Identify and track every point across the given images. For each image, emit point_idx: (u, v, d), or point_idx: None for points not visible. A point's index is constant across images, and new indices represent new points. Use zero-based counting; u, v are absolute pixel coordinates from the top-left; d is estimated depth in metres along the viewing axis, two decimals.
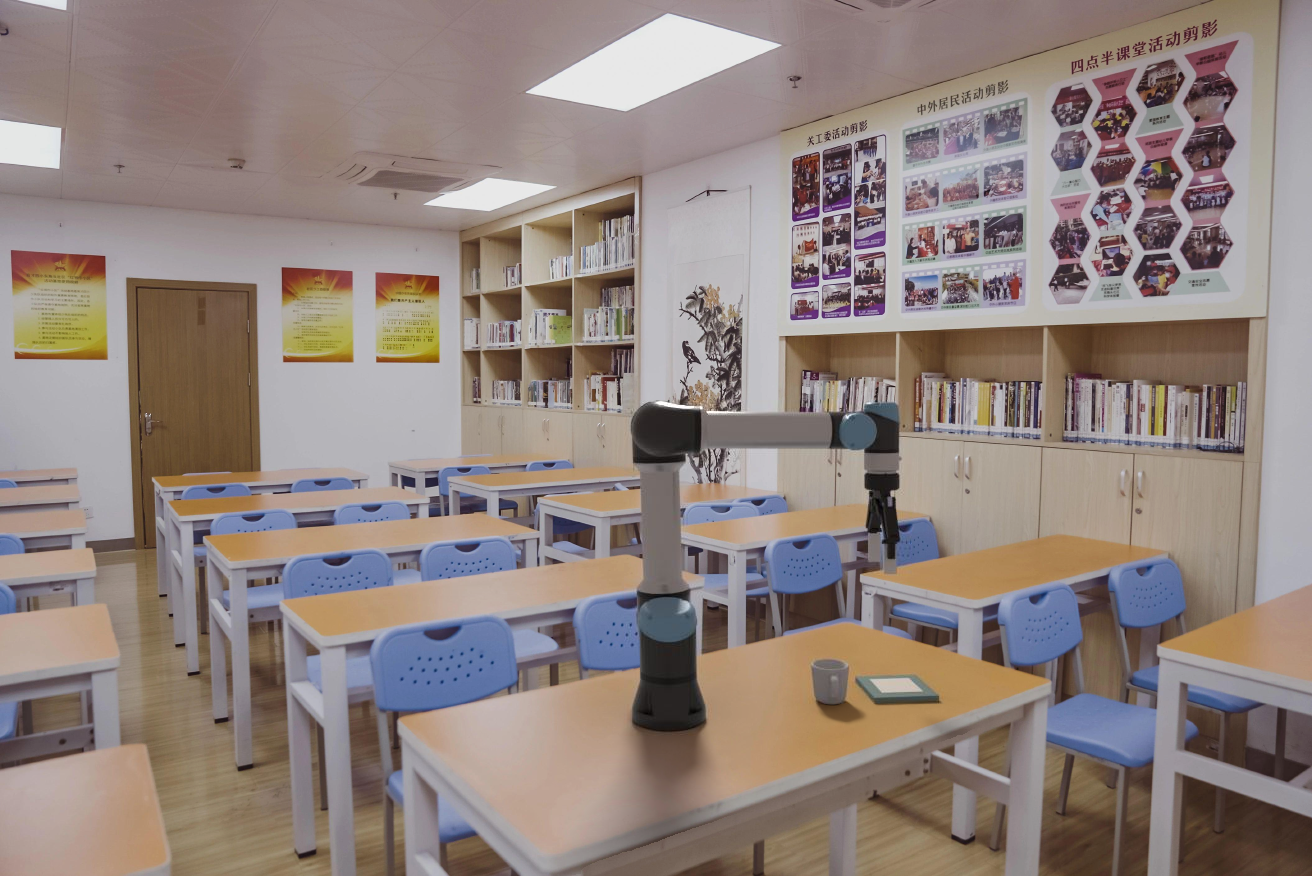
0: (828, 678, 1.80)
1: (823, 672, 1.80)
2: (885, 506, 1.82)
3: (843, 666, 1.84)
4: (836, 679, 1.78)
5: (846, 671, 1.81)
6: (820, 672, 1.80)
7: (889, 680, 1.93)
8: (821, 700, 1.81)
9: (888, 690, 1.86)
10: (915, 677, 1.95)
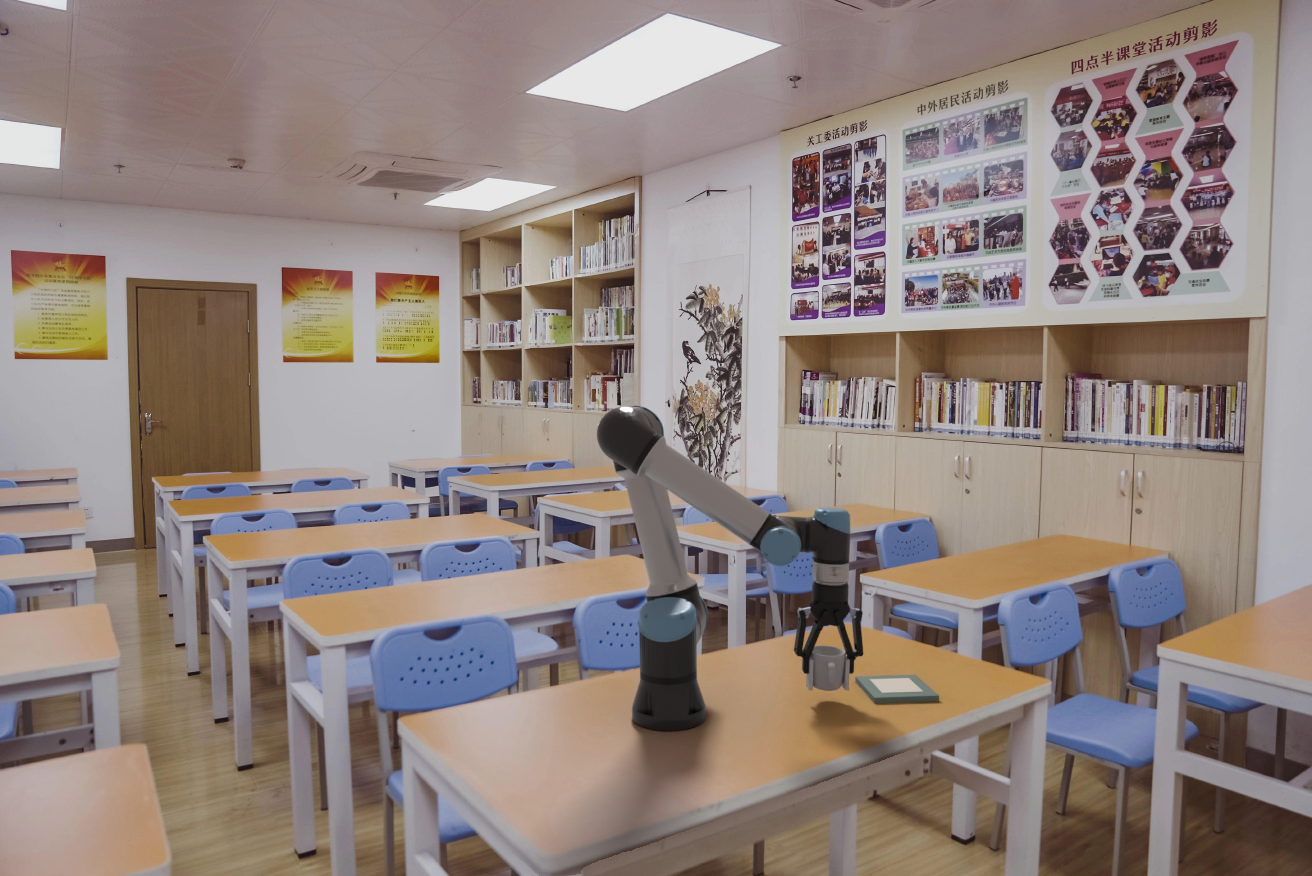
0: (825, 664, 1.80)
1: (820, 658, 1.80)
2: (798, 617, 1.82)
3: (840, 653, 1.84)
4: (833, 665, 1.78)
5: (843, 658, 1.81)
6: (817, 658, 1.80)
7: (889, 680, 1.93)
8: (817, 686, 1.81)
9: (888, 690, 1.86)
10: (915, 677, 1.95)
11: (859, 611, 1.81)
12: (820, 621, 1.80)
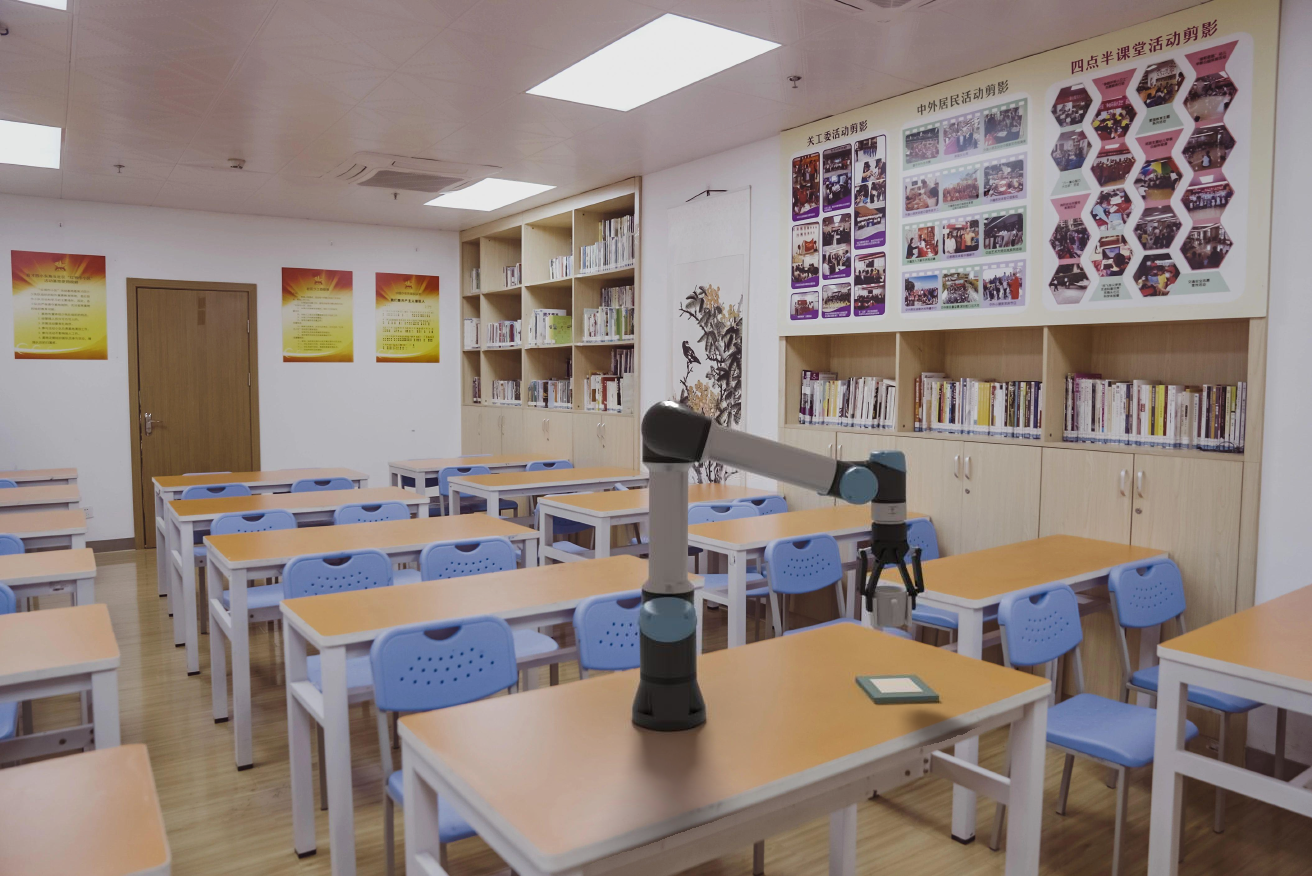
0: (888, 601, 1.85)
1: (883, 596, 1.85)
2: (859, 558, 1.88)
3: (901, 591, 1.89)
4: (896, 601, 1.83)
5: (905, 595, 1.86)
6: (880, 596, 1.86)
7: (889, 680, 1.93)
8: (881, 624, 1.87)
9: (888, 690, 1.86)
10: (915, 677, 1.95)
11: (918, 549, 1.86)
12: (881, 560, 1.85)
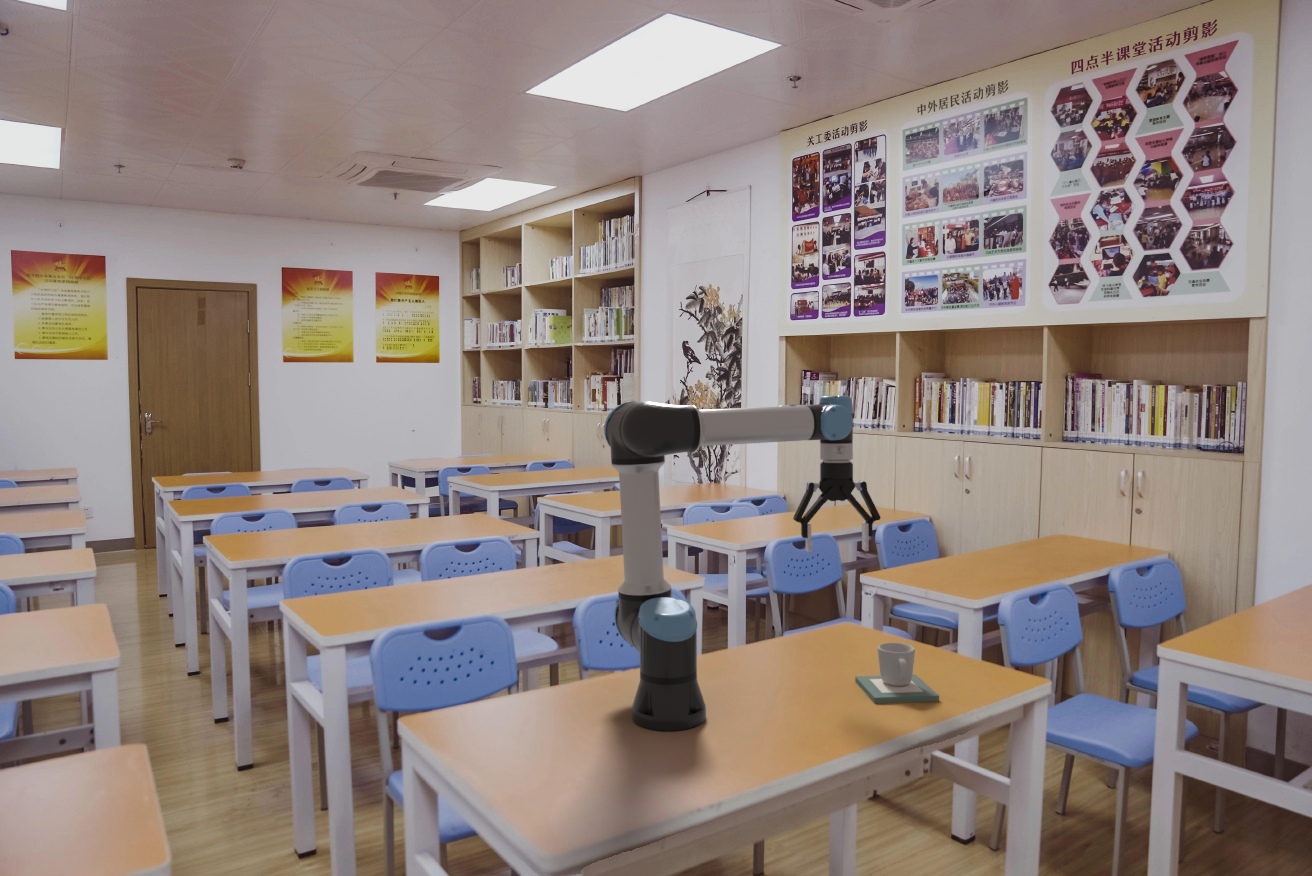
0: (896, 660, 1.87)
1: (891, 655, 1.87)
2: (806, 490, 2.02)
3: (908, 649, 1.91)
4: (904, 661, 1.85)
5: (913, 654, 1.88)
6: (888, 655, 1.87)
7: None
8: (888, 682, 1.88)
9: (888, 690, 1.86)
10: (915, 677, 1.95)
11: (863, 482, 2.01)
12: (826, 494, 2.00)
